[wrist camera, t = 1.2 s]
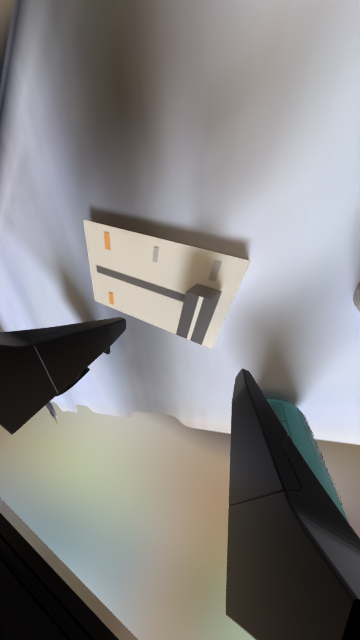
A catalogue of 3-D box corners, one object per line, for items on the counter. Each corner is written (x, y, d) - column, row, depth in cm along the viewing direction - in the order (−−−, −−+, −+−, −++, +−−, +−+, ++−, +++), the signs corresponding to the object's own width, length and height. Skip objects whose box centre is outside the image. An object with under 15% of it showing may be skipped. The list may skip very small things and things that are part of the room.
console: (213, 341, 21) (211, 349, 19) (104, 297, 26) (94, 300, 24) (248, 260, 15) (250, 261, 13) (96, 222, 19) (82, 219, 18)
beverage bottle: (253, 385, 22) (311, 829, 5) (306, 394, 19) (804, 1405, 2) (251, 410, 24) (285, 760, 7) (297, 421, 21) (508, 1000, 5)
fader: (208, 327, 17) (201, 345, 14) (187, 319, 18) (175, 334, 14) (222, 291, 15) (217, 302, 11) (197, 283, 15) (185, 291, 12)
